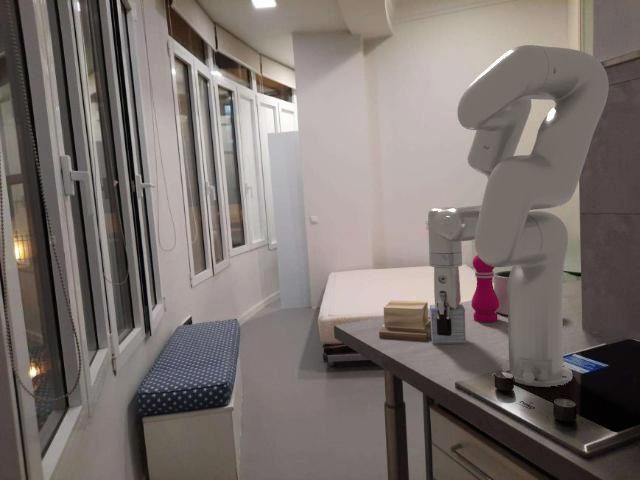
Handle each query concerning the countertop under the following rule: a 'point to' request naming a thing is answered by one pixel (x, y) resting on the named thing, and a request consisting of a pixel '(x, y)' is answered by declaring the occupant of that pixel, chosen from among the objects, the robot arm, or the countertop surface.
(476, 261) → the pepper mill
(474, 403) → the countertop surface
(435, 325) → the medicine box
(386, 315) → the oak block
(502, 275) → the planter
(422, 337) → the board
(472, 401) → the countertop surface
